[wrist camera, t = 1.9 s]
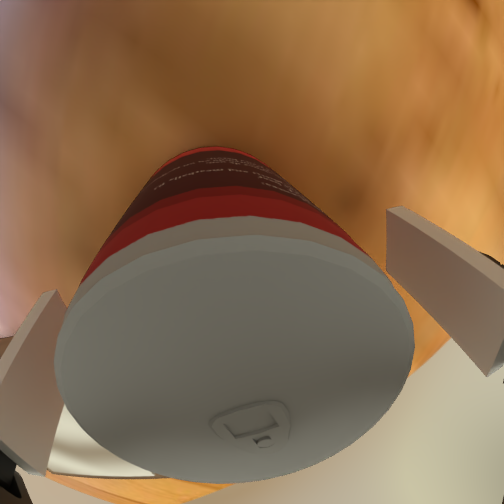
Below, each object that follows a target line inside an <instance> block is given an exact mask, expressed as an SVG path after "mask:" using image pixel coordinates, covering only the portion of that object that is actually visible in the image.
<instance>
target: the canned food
mask: <svg viewBox="0 0 504 504" xmlns="http://www.w3.org/2000/svg"><path fill="white" fill-rule="evenodd" d="M414 348H415V344H414V330H413V322H412V320H411V317H410V315H409V312H408V310H407V307H406V305H405V302H404V300H403V298H402V297H401V296H400V295H399V293H398V292H397V291H396V290H395V289H394V287H393V285H392V283H391V281H390V280H389V279H388V277H387V276H386V275H385V274H384V273H383V271H382V270H381V269H380V268H379V267H378V265H377V264H376V263H375V262H374V261H373V259H372V258H371V257H370V256H369V255H368V254H367V253H366V252H365V251H363V250H362V249H361V248H360V247H359V246H358V245H357V244H356V243H355V242H354V241H353V240H352V239H351V237H350V236H349V235H348V234H347V233H346V232H345V231H344V230H343V229H341V228H340V227H339V226H338V225H337V224H336V223H335V222H334V221H333V220H331V219H330V218H329V217H328V216H327V215H326V214H325V213H323V212H322V211H321V210H320V209H319V208H318V207H316V206H315V205H314V204H313V203H312V202H311V201H309V200H308V199H307V198H306V197H305V196H304V195H302V194H301V193H300V192H299V191H298V190H296V189H295V188H294V187H293V186H292V185H290V184H289V183H288V182H287V181H286V180H284V179H283V178H282V177H281V176H279V175H278V174H277V173H276V172H275V171H273V170H272V169H271V168H270V167H268V166H267V165H266V164H265V163H263V162H261V161H260V160H258V159H257V158H255V157H253V156H252V155H250V154H247V153H244V152H242V151H239V150H236V149H232V148H225V147H203V148H197V149H194V150H191V151H187V152H184V153H182V154H180V155H178V156H176V157H174V158H173V159H171V160H169V161H168V162H166V163H165V164H164V165H163V166H162V167H161V168H160V169H158V170H157V171H156V172H155V173H154V175H153V176H152V177H151V179H150V180H149V181H148V182H147V184H146V185H145V186H144V188H143V189H142V190H141V192H140V193H139V194H138V196H137V197H136V198H135V200H134V201H133V203H132V204H131V205H130V207H129V208H128V209H127V211H126V212H125V214H124V215H123V217H122V218H121V219H120V221H119V222H118V224H117V225H116V227H115V228H114V230H113V231H112V233H111V234H110V235H109V237H108V238H107V240H106V241H105V243H104V245H103V246H102V248H101V249H100V251H99V252H98V254H97V255H96V257H95V259H94V260H93V262H92V264H91V265H90V267H89V269H88V270H87V272H86V274H85V276H84V277H83V279H82V281H81V283H80V285H79V288H78V290H77V292H76V293H75V295H74V297H73V299H72V301H71V303H70V304H69V306H68V308H67V310H66V312H65V315H64V319H63V324H62V328H61V330H60V332H59V334H58V338H57V343H56V350H55V356H54V369H55V375H56V382H57V387H58V390H59V392H60V394H61V397H62V399H63V401H64V403H65V405H66V408H67V410H68V411H69V412H70V414H71V415H72V417H73V418H74V419H75V420H76V422H77V423H78V424H79V426H80V427H81V428H82V429H83V430H84V431H85V432H86V433H87V434H88V435H89V436H90V437H91V438H92V439H94V440H95V441H96V442H97V443H98V444H99V445H100V446H102V447H103V448H105V449H106V450H108V451H109V452H111V453H113V454H114V455H116V456H117V457H119V458H121V459H122V460H124V461H127V462H129V463H131V464H133V465H135V466H137V467H140V468H142V469H144V470H147V471H150V472H153V473H156V474H160V475H163V476H166V477H170V478H175V479H180V480H186V481H191V482H201V483H216V484H224V483H244V482H252V481H259V480H266V479H270V478H275V477H279V476H283V475H287V474H290V473H293V472H296V471H299V470H302V469H305V468H307V467H310V466H313V465H315V464H317V463H319V462H321V461H323V460H325V459H327V458H329V457H331V456H333V455H335V454H336V453H338V452H340V451H341V450H343V449H344V448H346V447H348V446H349V445H351V444H352V443H354V442H355V441H356V440H357V439H359V438H360V437H361V436H362V435H364V434H365V433H366V432H367V431H368V430H369V429H371V428H372V427H373V426H374V425H375V424H376V423H377V422H378V421H379V420H380V419H381V418H382V416H383V415H384V414H385V413H386V412H387V411H388V410H389V408H390V407H391V405H392V404H393V402H394V401H395V400H396V398H397V397H398V395H399V393H400V392H401V390H402V388H403V386H404V384H405V381H406V379H407V377H408V374H409V372H410V370H411V365H412V359H413V354H414Z"/></svg>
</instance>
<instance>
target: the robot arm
mask: <svg viewBox="0 0 504 504" xmlns="http://www.w3.org/2000/svg"><path fill="white" fill-rule="evenodd" d="M386 219H387V255H386V271H387V272H388V273H389V274H390V275H391V276H392V277H393V278H394V279H395V280H396V281H397V282H398V283H399V284H400V285H401V286H402V287H403V288H404V289H405V290H406V291H407V292H408V293H409V294H410V295H411V296H412V297H413V298H414V299H415V300H416V301H417V302H418V303H419V304H420V305H421V306H422V307H423V308H424V309H425V310H426V311H427V312H428V313H429V314H430V315H431V316H432V317H433V318H434V319H435V320H436V321H437V322H438V323H439V325H440V326H441V327H442V328H443V329H444V330H445V331H446V332H447V333H448V334H449V335H450V336H451V337H452V338H453V340H454V341H455V342H456V343H457V344H458V345H459V346H460V347H461V348H462V350H463V351H464V352H465V353H466V354H467V355H468V356H469V357H470V358H471V360H472V361H473V362H474V363H475V364H476V365H477V367H478V368H479V369H480V370H481V371H482V372H483V373H484V375H485V376H486V377H488V376H489V375H491V374H492V373H494V372H495V371H496V370H498V369H499V368H501V367H502V366H503V364H504V265H503V264H502V265H500V262H498V261H497V260H495V259H494V258H492V257H491V256H489V255H487V254H484V253H481V252H479V251H477V250H475V249H474V248H472V247H471V246H469V245H467V244H466V243H464V242H463V241H461V240H460V239H458V238H456V237H455V236H453V235H452V234H450V233H448V232H447V231H445V230H443V229H442V228H440V227H438V226H437V225H435V224H433V223H432V222H430V221H428V220H427V219H425V218H423V217H421V216H420V215H418V214H416V213H414V212H413V211H411V210H409V209H407V208H405V207H404V206H398V207H394V208H389V209H386ZM66 310H67V308H66V306H65V304H64V302H63V301H62V299H61V297H60V295H59V293H58V291H57V289H56V290H52V291H48V292H44V293H43V294H42V295H41V296H40V298H39V299H38V301H37V302H36V304H35V305H34V306H33V308H32V309H31V311H30V312H29V314H28V315H27V317H26V318H25V320H24V321H23V323H22V324H21V326H20V327H19V329H18V331H17V332H16V334H15V335H14V337H13V339H12V340H11V342H10V344H9V345H8V347H7V348H6V350H5V352H4V354H3V355H2V357H1V359H0V504H33V503H32V501H31V499H30V497H29V494H28V492H27V489H26V487H25V484H24V482H23V479H22V477H21V476H20V475H19V473H18V472H16V471H15V468H16V465H18V466H19V467H21V468H22V469H23V470H25V471H26V472H27V473H28V474H32V475H38V476H43V477H45V475H46V470H47V466H48V462H49V457H50V453H51V449H52V445H53V442H54V438H55V434H56V431H57V427H58V424H59V420H60V417H61V413H62V410H63V407H64V404H65V403H64V401H63V399H62V397H61V394H60V392H59V390H58V387H57V382H56V375H55V369H54V356H55V350H56V343H57V338H58V334H59V332H60V330H61V328H62V324H63V319H64V315H65V312H66ZM503 383H504V381H503ZM502 504H504V497H503V502H502Z"/></svg>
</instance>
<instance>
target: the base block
mask: <svg viewBox="0 0 504 504" xmlns="http://www.w3.org/2000/svg"><path fill="white" fill-rule="evenodd" d="M13 337H14V336H13ZM13 337H7V338H1V339H0V359H1V357H2V355H3V354H4V352H5V350H6V348H7V347H8V345H9V344H10V342H11V340H12V339H13ZM47 470H48V471H49V472H51V473H52V474H57V475H66V476H75V477H87V478H103V479H158V478H170V477H166V476H163V475H160V474H156V473H153V472H150V471H147V470H144V469H142V468H140V467H137V466H135V465H133V464H131V463H129V462H127V461H124V460H122V459H121V458H119V457H117V456H116V455H114V454H113V453H111V452H109V451H108V450H106V449H105V448H103V447H102V446H100V445H99V444H98V443H97V442H96V441H95V440H94V439H92V438H91V437H90V436H89V435H88V434H87V433H86V432H85V431H84V430H83V429H82V428H81V427H80V426H79V424H78V423H77V422H76V420H75V419H74V418H73V417H72V415H71V414H70V412H69V411H68V410H67V408H66V405H65V404H64V407H63V410H62V413H61V417H60V420H59V424H58V427H57V431H56V434H55V438H54V442H53V445H52V449H51V453H50V457H49V462H48V466H47Z"/></svg>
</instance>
